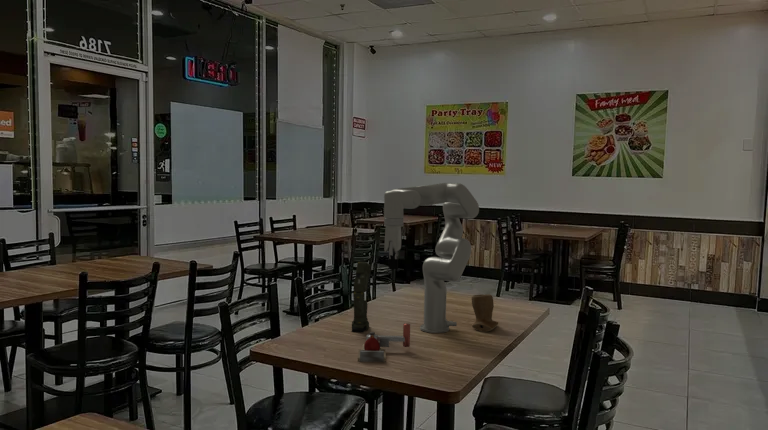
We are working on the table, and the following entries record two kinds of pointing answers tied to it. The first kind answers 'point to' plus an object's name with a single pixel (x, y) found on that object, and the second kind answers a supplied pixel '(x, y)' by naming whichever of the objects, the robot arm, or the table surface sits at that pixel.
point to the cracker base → (372, 354)
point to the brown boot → (483, 312)
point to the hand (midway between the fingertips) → (393, 268)
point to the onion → (372, 344)
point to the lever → (394, 337)
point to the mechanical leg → (360, 298)
